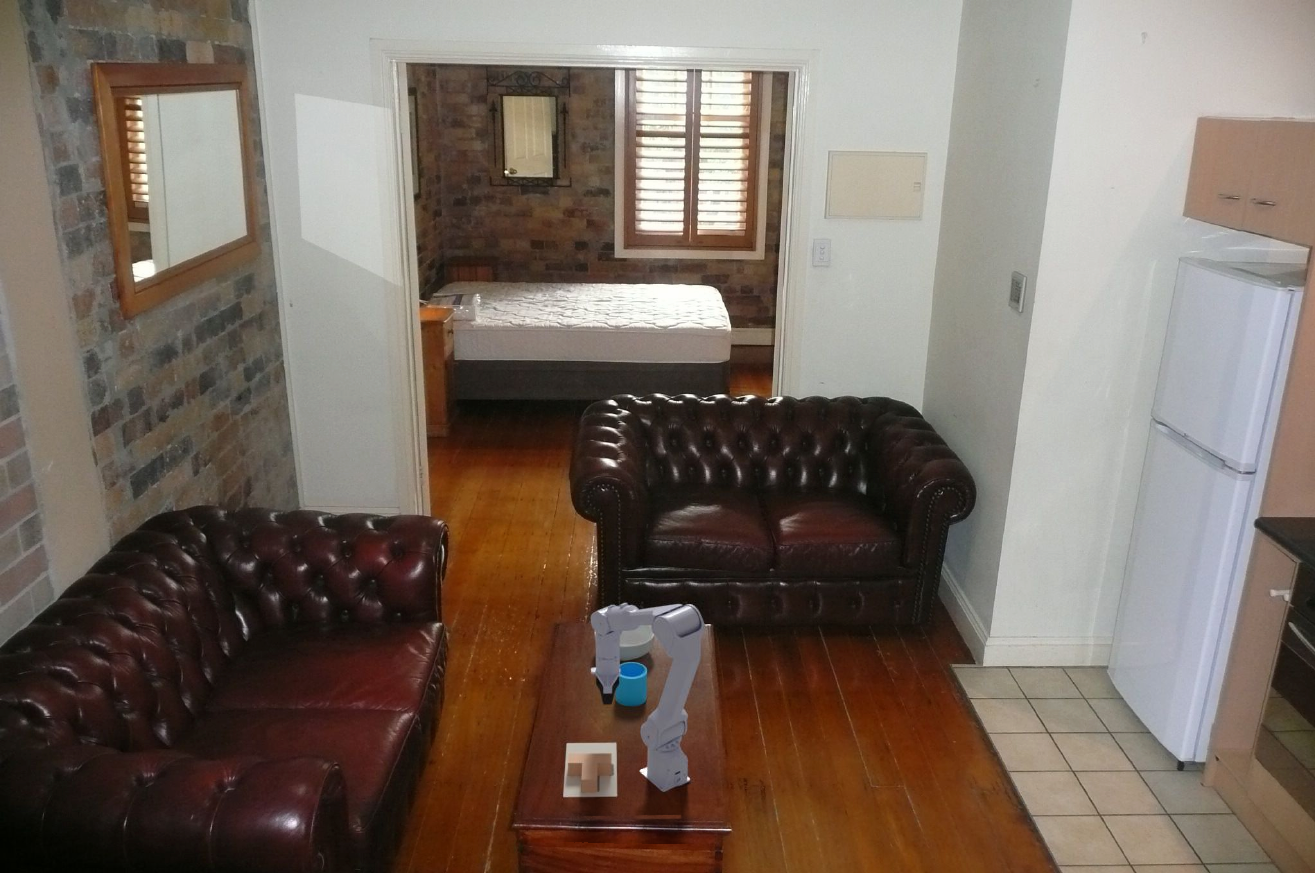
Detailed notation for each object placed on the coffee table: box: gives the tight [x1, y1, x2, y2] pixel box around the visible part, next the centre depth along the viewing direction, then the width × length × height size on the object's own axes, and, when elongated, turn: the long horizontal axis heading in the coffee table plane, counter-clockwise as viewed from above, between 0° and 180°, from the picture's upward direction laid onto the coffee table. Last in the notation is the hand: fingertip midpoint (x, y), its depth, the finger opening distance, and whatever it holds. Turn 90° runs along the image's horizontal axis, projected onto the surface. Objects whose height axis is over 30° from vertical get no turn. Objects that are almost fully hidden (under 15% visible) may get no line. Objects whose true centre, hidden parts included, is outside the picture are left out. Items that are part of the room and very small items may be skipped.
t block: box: [568, 753, 612, 793], centre depth 234 cm, size 10×10×4 cm
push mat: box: [563, 742, 618, 798], centre depth 238 cm, size 20×12×1 cm, turn 3°
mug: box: [615, 661, 648, 707], centre depth 268 cm, size 12×8×8 cm
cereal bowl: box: [594, 625, 656, 662], centre depth 287 cm, size 17×17×7 cm
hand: (607, 703), depth 248 cm, fingers closed
